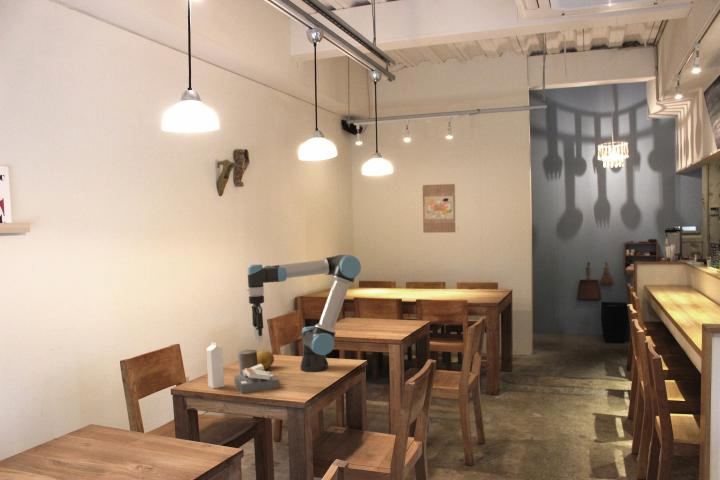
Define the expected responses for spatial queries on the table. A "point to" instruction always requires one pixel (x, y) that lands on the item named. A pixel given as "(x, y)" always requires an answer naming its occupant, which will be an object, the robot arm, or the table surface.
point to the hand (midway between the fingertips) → (258, 340)
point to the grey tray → (255, 383)
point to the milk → (215, 366)
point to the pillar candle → (247, 359)
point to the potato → (265, 358)
